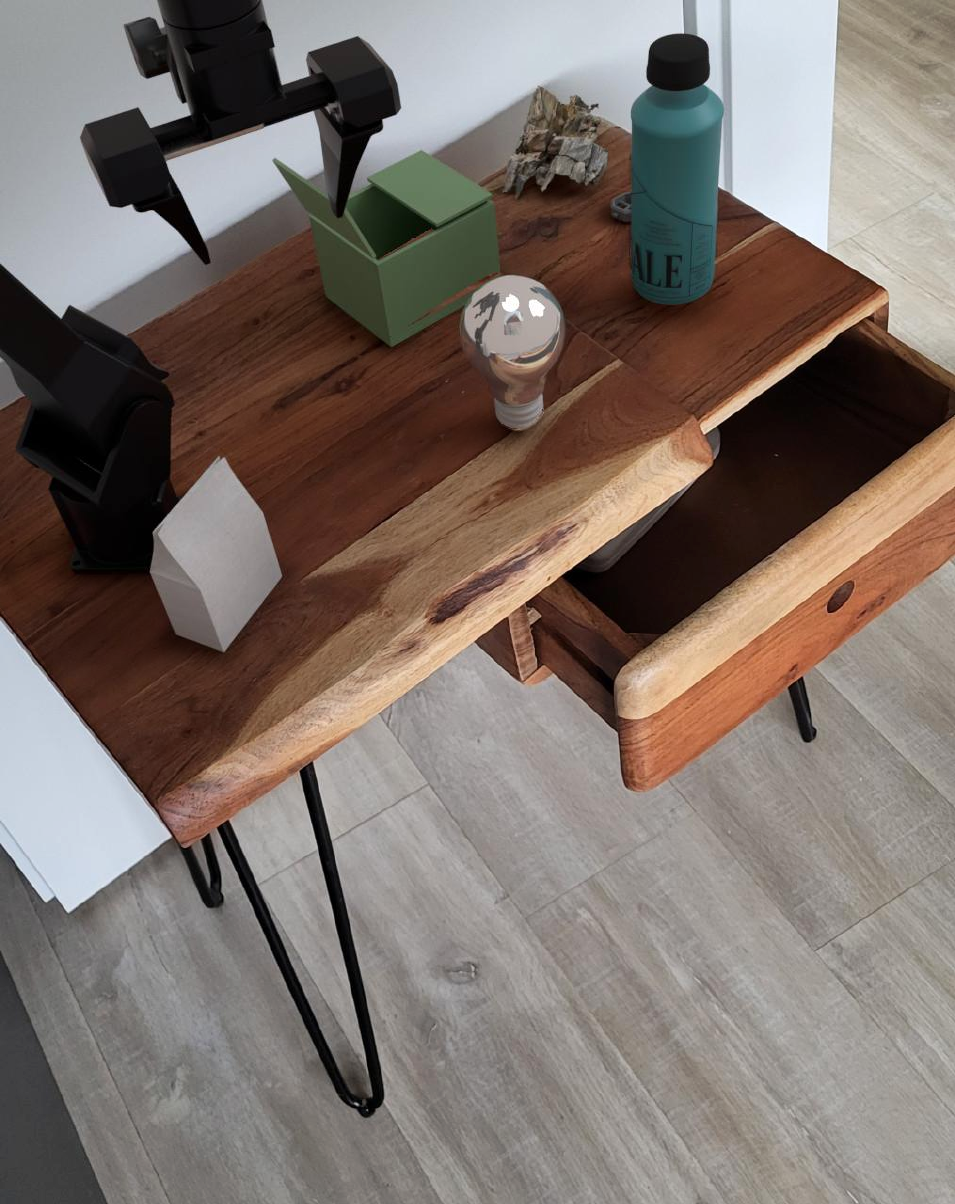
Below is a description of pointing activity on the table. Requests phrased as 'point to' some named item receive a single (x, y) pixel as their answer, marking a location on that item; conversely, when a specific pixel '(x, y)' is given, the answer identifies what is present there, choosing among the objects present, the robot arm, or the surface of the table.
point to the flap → (323, 208)
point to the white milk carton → (214, 559)
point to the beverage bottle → (675, 173)
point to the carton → (409, 247)
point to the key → (619, 202)
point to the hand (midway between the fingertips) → (272, 237)
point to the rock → (557, 143)
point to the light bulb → (513, 343)
